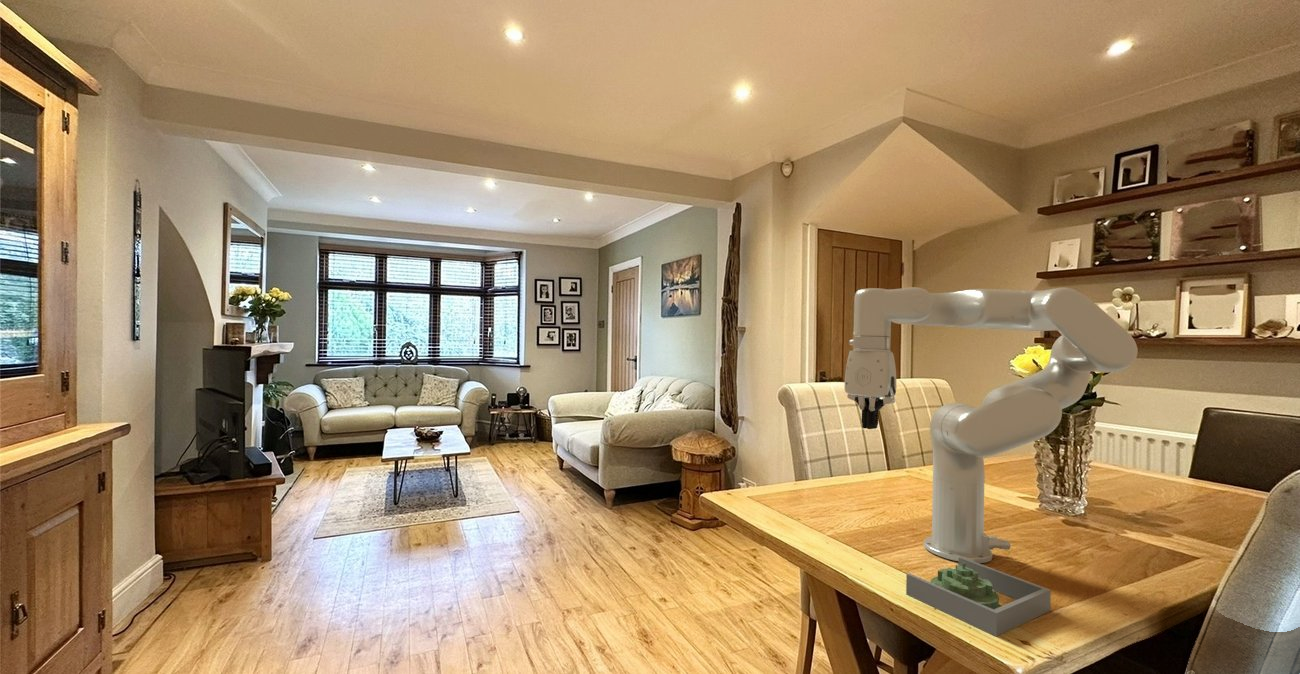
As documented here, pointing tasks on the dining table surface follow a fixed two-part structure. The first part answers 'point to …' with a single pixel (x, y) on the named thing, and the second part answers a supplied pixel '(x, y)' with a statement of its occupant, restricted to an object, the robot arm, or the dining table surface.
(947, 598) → the box
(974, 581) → the decorative artifact
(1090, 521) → the dining table surface
